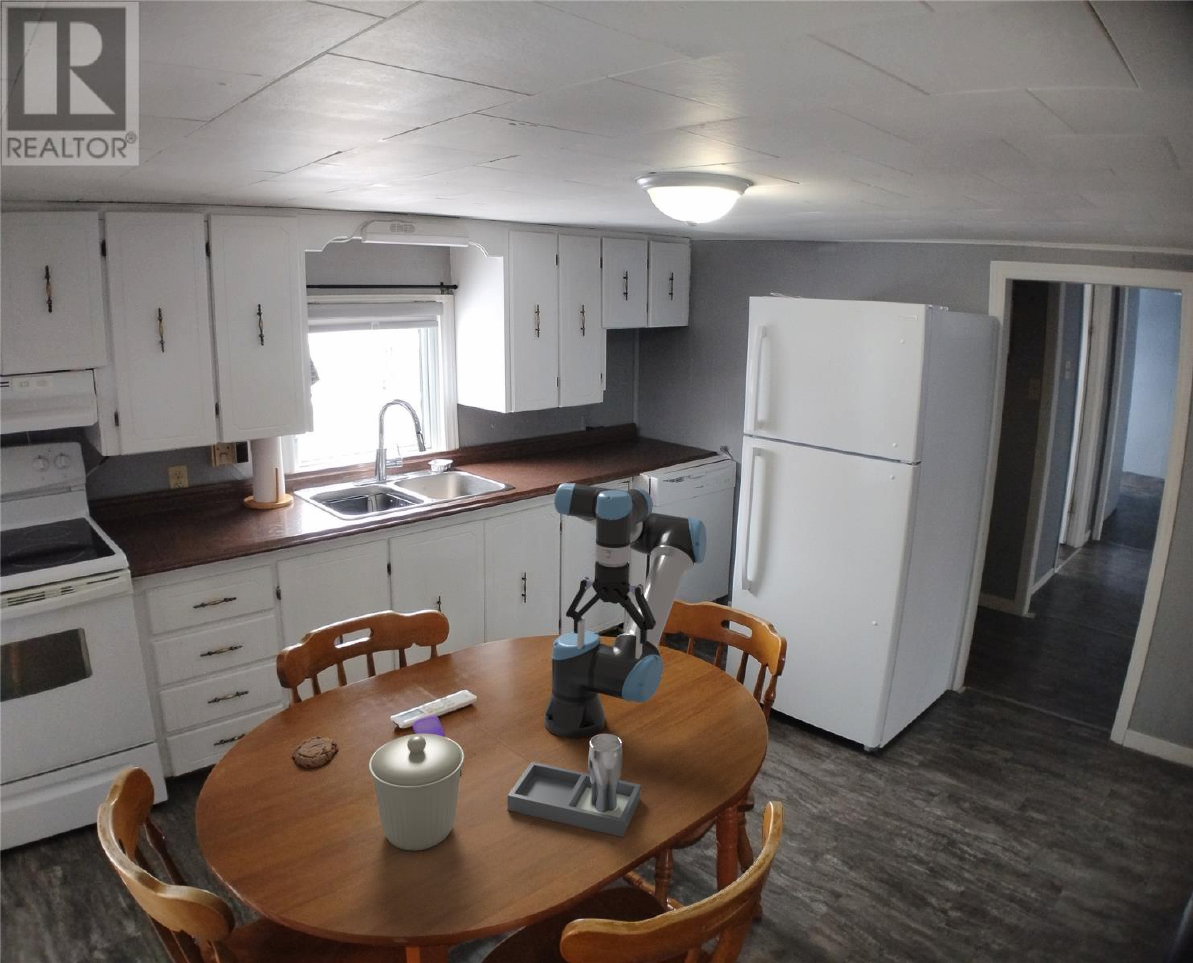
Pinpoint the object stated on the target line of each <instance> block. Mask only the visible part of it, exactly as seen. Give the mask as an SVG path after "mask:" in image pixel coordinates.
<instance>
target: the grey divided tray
mask: <svg viewBox="0 0 1193 963" xmlns="http://www.w3.org/2000/svg"><path fill="white" fill-rule="evenodd" d="M591 794H592V787H591V781H590V775H589V772H582V771H577V770H574V769H568V768H564V767H560V766H554V765H550V764H544V763H541V762H535V761H531V762H530V763H529V764H528V766H527V768H525V770H524V771H523V773H522V774H521V776H520V777H519V779H518V780H517V782H516V783H515V784H514V786H513V787H512V788H511V790H510V791H509V793H508V794H507V811H511V812H514V813H518V814H522V815H527V816H531V817H535V818H540V819H544V820H548V821H552V822H557V823H561V824H565V825H569V826H574V827H578V828H583V829H587V830H592V831H594V832H595V831H596V832H599V833H603V834H609V835H611V836H616V837H621V838H624V837H625V834H626V831H627V830H628V827H629V825H630V823H631V820H632V818H633V817H634V816H633V815H634V813H635V812H636V809H637V807H638V805H639V802H640V800H641V784H639V783H633V782H630V781H626V780H620V779H619V783H618V788H617V800H618V810H617V811H616V812H615V813H613V814H611V815H606V814H602V813H597V812H593V811H591V809H590V807H589V803H590V799H591Z"/></svg>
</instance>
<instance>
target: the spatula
mask: <svg viewBox="0 0 1193 963" xmlns="http://www.w3.org/2000/svg"><path fill="white" fill-rule="evenodd" d="M412 729H413V731H414V734H435V735H439V736H443V737H446V736H445V735H446V734H445V731H444V729H443V725H442V723H441V721H440V719H439V717H438V716H436V715H430V716H426V717H422V718H420V719H417V720H415V721H414V722H413V725H412ZM461 774H462V769H461V768H460V775H461Z"/></svg>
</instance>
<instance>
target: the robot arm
mask: <svg viewBox="0 0 1193 963" xmlns="http://www.w3.org/2000/svg"><path fill="white" fill-rule="evenodd" d="M553 500H554V504H553V505H554V508H555V510H556V512H557V513H558V514H560V515H565V516H567V517H569V516H571V517H574V518H575V517H576V518H578V519H580V520H582V521H584V522H587V523H588V524H590V525H592V526H594V527H595V558H594V559H595V561H596V562H595V563H594V579H593V580H592V579H589V577H588V576H585V577H583V579H581V581H580V584H579V590H578V591H577V593H576V595H575V596H574V598H573V600H572V602H571V604H570V605H569V607H568V609H567V611H566V613H565V615H566V616H565V617H567V618H571V619H573V631H570V632H566V633H563V634H561V635H560V636H557V638H556V639H555V640H554V642H553V643H552V652H551V695H550V697H549V699H548V703H547V705H546V708H545V711H544V714H543V716H544V721H543V723H544V726H545V728H546V729H547V730H548V732H550V733H551V734H553V735H556V736H558V737H561V738H562V737H563V738H566V739H582V738H588V737H591V736H592V737H593V736H595V735H597V734H599V732H601V731H602V730H603V729H604V726H605V720H606V713H605V710H604V707H603V705H602V701H601V699H600V695H605V696H609V697H613V698H616V699H619V700H624V701H626V702H634V703H641V704H642V703H646V702H648V701H649V700H650V699H651V698H653V696H654V695H655V693H656V692H657V690H658V688H659V687H660V684H661V681H662V679H663V678H662V674H664V673H663V672H664V661H663V658H662V657H661V651H660V648H659V647H658V646H659V643H660V639H661V637H662V634H663V631H664V629H665V626H666V623H667V621H668V618H669V617H670V614H671V610H672V608H673V605H674V602H675V600H676V597H677V594H678V591H679V588H680V586H681V583H682V580H683V578H684V575H685V574H688V573H690V572H691V571H692V570H693V567H694V565H695V564H696V565H698V564H702V563H703V562H704V560H705V557H706V551H707V531H706V526H705V523H704V522H703V521H702V520H701V519H695V518H691V517H682V516H676V515H669V514H663V513H656V512H652V511H653V507H654V503H653V502H654V501H653V498H652V497H651V495H650V493H649V492H648V491H647V490H645V489H644V488H640V487H635V488H629V489H628V490H623V489H616V488H615V489H614V488H608V487H607V488H606V487H598V486H591V485H586V484H577V483H575V482H574V483H570V482H564V483H561V484H559V486H558V488H557V489H556V491H555V495H554V499H553ZM630 549H631V550H633V551H635V552H637V553H639V554H640V553H641V554H643V555H648V556H650V558H651V560H652V565H651V568H650V570H649V572H648V574H647V576H646V580H645V582H644V585H642V584H638V585H631V584H630V563H629V562H630V558H631V556H630V555H631V550H630ZM591 587H592V589H593V590H594V591H595V595H594V596H593V597H591V599H590V600H589V601H587V602H586V603H585V604H584V605H583V606H582V607H581V608H580V610H578V611H576V609H578V608H577V607H578V606H579V604H580V603H581V601H582V599H583V597H584V595H585V594H586V592H587V590H589V589H590V588H591ZM630 592H631V594H632V597H635V602H636V604H634V603H633V602H632V598H630V596H629V595H628V594H629V593H630ZM599 600H601V601H602V602H603V603H610V604H615V605H617V604H619V605H620V607H622V608H623V609H624V610H625V612H627V614H628V615H629V617H630V620H629V621H628V625H627V627H626V630H625V632H624V633H621V634H619V635H617V636H616V638H615V640H614V642H613V645H610V644H605V643H601V642H602V640H601V637H600V634H598V633H597V632H595V631H591V630H586V629H585V628H586V627H585V626H586V625H585V624H586V623H585V622H586V618H585V617H583V616H584V615H585V614H586V613H587V612H589V610H590V609H591V608H592V606H594V605H595V604H596V603H597V602H598V601H599Z"/></svg>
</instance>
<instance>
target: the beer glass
mask: <svg viewBox="0 0 1193 963" xmlns="http://www.w3.org/2000/svg"><path fill="white" fill-rule="evenodd" d="M587 763H588V766H587V767H588V774H589V775H590V781H591V787H592V794H591V799H590V803H589V807H590V809H591V811H593V812H597V813H602V814H606V815H611V814H613V813H615V812H616V811H617V810H618V800H617V788H618V783H619V780H620V778H621V775H622V769H623V741H622V739H621V738H620V737H619V736H618V735H615V734H612V733H597V734H594V735H593V736H592V737H591V738H590V740H589V749H588V762H587Z"/></svg>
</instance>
